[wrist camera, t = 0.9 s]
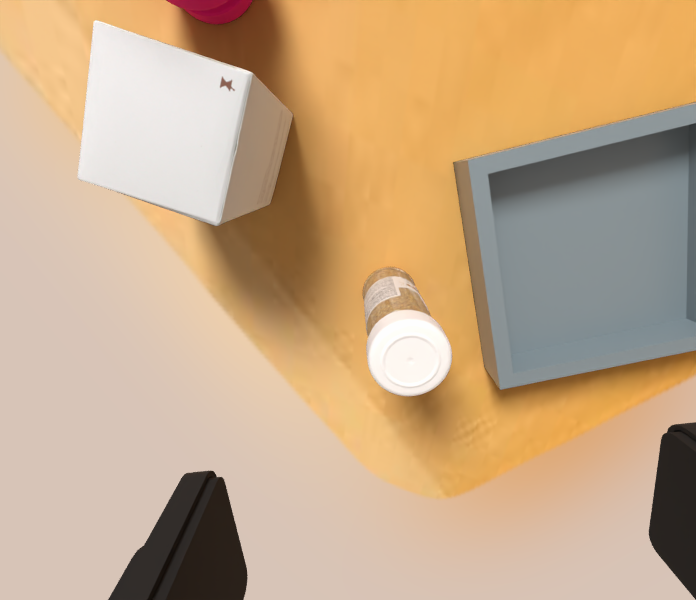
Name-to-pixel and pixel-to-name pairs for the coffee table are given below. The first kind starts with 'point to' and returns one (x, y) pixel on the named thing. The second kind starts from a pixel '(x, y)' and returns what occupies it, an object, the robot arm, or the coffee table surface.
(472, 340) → the coffee table surface
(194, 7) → the pepper mill
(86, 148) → the supplement box
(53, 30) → the coffee table surface
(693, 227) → the tray
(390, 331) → the sprinkles bottle
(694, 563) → the robot arm
